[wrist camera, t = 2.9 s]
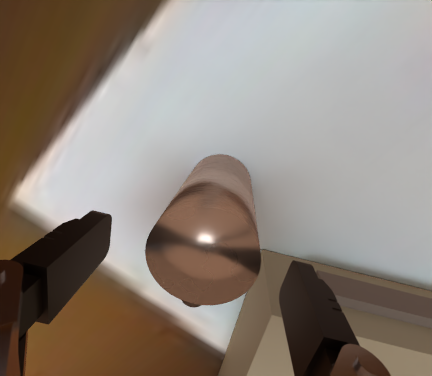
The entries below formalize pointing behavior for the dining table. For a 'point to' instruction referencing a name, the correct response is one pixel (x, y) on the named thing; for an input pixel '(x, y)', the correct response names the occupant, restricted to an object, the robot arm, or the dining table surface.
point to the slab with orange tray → (354, 312)
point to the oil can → (207, 236)
